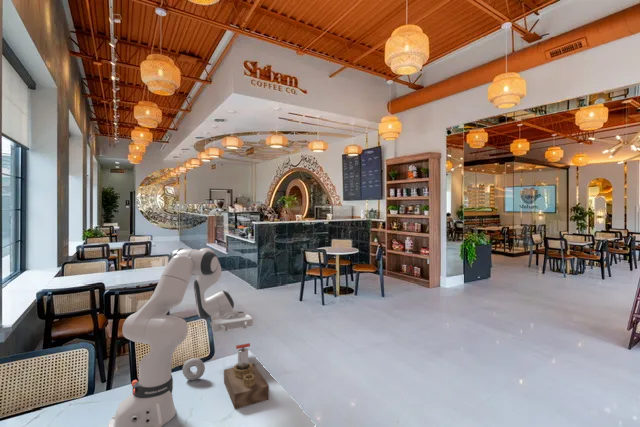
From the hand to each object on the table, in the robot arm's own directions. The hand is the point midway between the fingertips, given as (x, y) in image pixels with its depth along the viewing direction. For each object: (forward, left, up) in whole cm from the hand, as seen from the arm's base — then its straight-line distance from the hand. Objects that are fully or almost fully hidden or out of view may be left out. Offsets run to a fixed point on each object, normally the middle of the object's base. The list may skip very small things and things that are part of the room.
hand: (235, 328), depth 159 cm
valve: (0, -15, -15) cm, 21 cm away
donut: (-19, +1, -22) cm, 29 cm away
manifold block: (0, -19, -21) cm, 28 cm away
